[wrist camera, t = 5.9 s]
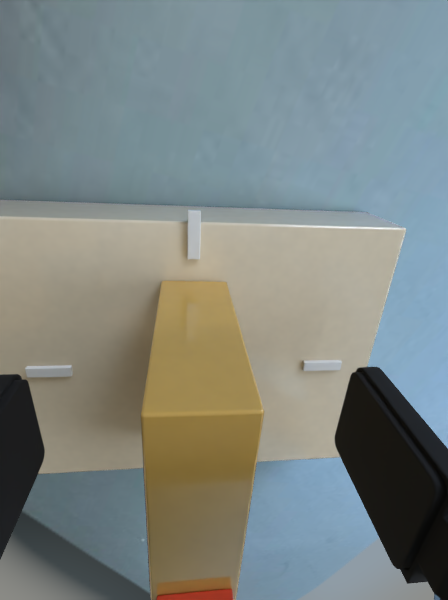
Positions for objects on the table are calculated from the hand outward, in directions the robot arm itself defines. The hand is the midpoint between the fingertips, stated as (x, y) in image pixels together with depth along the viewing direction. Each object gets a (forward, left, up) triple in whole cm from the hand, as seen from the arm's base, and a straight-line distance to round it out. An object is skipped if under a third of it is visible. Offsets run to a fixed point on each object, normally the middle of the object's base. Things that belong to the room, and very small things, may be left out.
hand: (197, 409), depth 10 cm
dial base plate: (0, 0, -5) cm, 5 cm away
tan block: (0, 0, -2) cm, 2 cm away
